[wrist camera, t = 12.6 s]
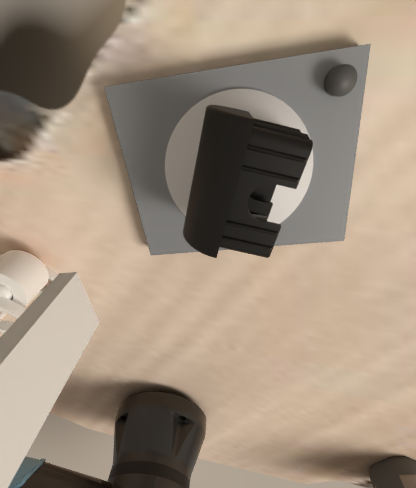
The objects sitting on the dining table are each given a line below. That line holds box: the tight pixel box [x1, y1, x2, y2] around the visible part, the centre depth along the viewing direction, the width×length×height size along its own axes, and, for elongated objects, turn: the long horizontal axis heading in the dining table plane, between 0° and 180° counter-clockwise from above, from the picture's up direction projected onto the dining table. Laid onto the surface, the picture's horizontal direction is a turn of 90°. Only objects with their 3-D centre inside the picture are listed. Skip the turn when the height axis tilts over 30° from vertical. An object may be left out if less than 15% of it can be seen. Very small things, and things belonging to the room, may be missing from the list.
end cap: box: [183, 105, 313, 258], centre depth 21 cm, size 10×7×7 cm
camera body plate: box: [104, 44, 370, 255], centre depth 24 cm, size 20×16×2 cm
